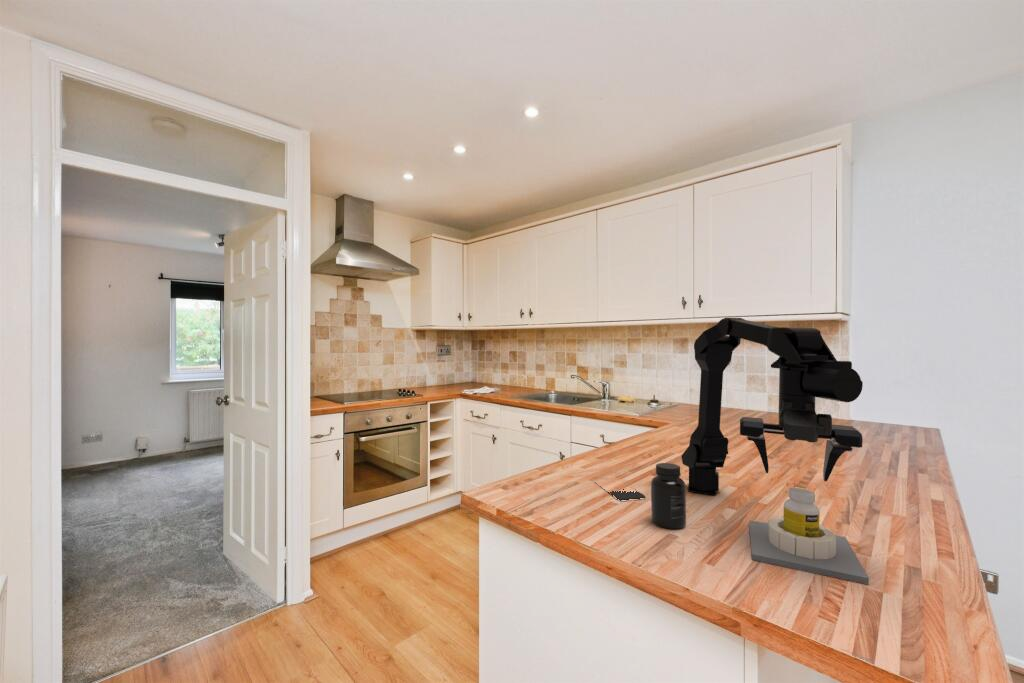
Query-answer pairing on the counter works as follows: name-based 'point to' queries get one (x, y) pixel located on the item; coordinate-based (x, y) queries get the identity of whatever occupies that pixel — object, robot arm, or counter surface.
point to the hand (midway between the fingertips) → (795, 476)
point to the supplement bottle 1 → (668, 497)
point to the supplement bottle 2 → (801, 513)
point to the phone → (627, 495)
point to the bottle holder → (805, 551)
